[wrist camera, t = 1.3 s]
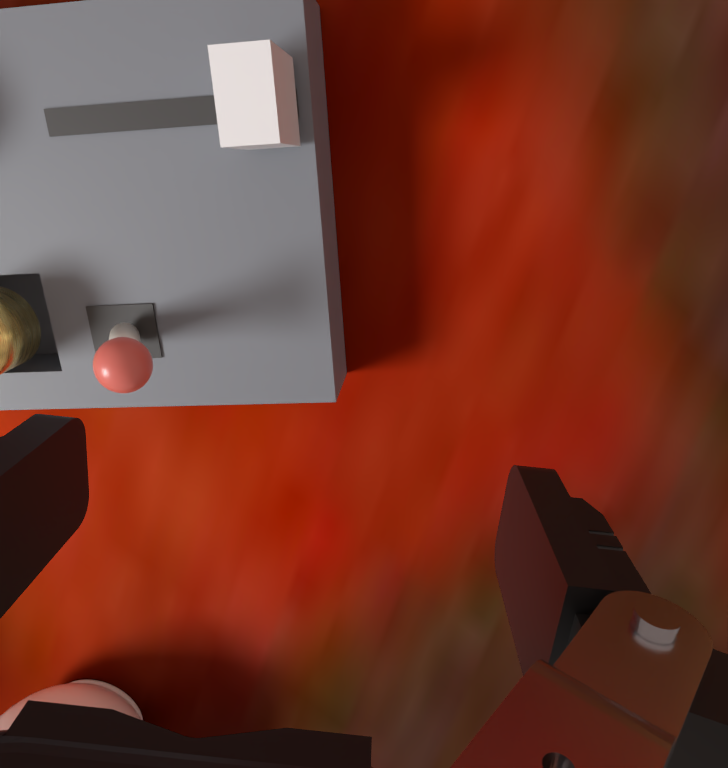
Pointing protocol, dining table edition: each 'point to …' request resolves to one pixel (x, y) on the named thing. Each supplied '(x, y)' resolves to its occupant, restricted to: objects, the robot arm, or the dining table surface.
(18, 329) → the button brass
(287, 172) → the panel
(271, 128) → the matte white cuboid
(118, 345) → the toggle lever
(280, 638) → the dining table surface
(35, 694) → the lidded jar
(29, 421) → the robot arm
